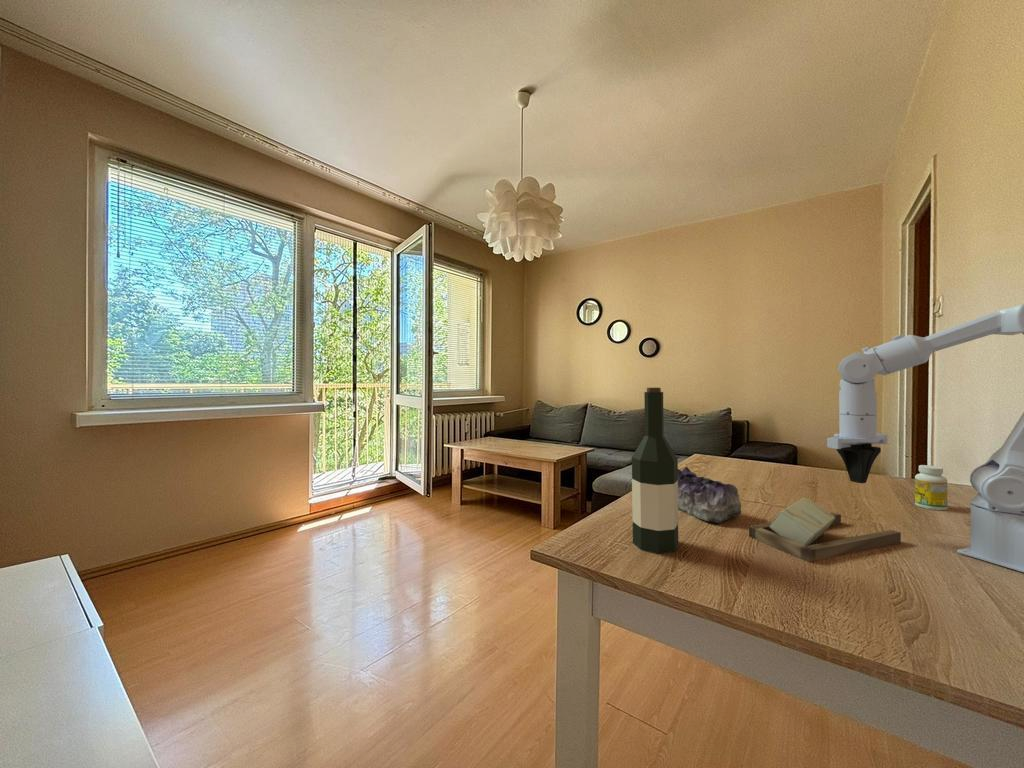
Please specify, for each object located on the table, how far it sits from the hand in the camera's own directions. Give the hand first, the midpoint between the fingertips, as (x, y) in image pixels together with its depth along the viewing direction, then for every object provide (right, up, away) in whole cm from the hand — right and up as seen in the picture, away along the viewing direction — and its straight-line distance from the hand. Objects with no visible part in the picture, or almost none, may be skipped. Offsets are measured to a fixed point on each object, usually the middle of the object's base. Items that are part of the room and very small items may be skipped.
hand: (858, 482), depth 81 cm
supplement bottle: (+30, -10, +15) cm, 35 cm away
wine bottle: (-42, -11, -4) cm, 43 cm away
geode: (-25, -11, +16) cm, 32 cm away
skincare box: (-8, -7, +1) cm, 11 cm away
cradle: (-9, -11, -3) cm, 14 cm away
